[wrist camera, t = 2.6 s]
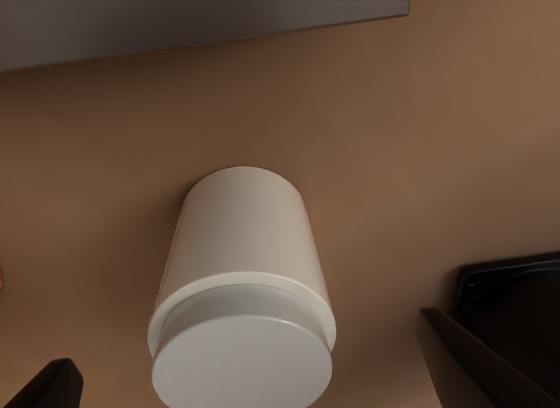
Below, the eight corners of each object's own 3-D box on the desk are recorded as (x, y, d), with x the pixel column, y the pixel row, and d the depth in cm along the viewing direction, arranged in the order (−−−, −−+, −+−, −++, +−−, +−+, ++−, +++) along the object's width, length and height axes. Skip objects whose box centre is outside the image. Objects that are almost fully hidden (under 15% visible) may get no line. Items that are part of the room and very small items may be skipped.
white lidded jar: (301, 156, 13) (343, 291, 7) (311, 261, 15) (347, 419, 10) (164, 175, 13) (103, 325, 7) (197, 277, 15) (169, 446, 10)
